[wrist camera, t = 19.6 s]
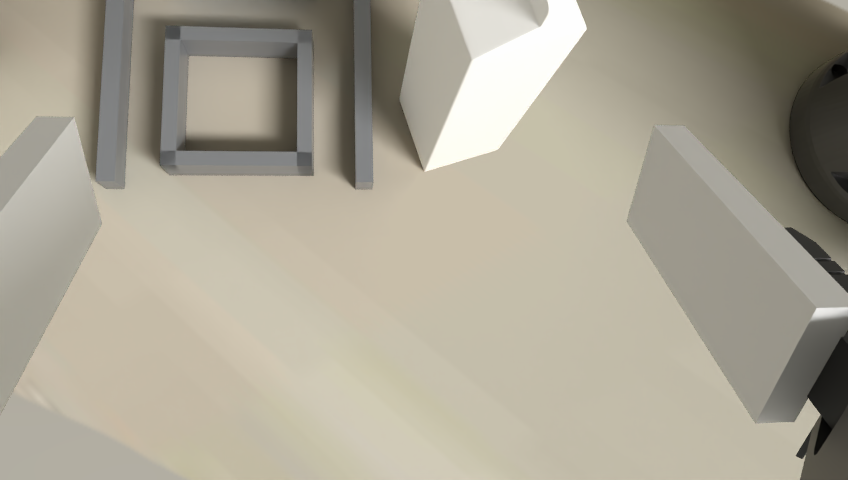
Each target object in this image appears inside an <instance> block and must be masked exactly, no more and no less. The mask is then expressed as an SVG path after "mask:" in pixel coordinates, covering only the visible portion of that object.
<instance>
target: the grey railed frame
mask: <svg viewBox="0 0 848 480" xmlns="http://www.w3.org/2000/svg"><path fill="white" fill-rule="evenodd" d="M133 8H134V0H106V11H105V28H104V45H103V62H102V79H101V96H100V113H99V130H98V148H97V165H96V182H97V183H99V184H100V185H102V186H103V187H104V188H106V189H124V186H125V166H126V146H127V127H128V107H129V87H130V67H131V48H132V28H133ZM353 8H354V103H355V189H372V186H373V142H372V77H371V11H370V0H353ZM189 56H225V57H265V58H297V152H269V151H185V143H186V114H187V86H188V57H189ZM160 166H161V167H162V168H163V169H164V170H165V171H166V172H167V173H168V174H169V175H274V176H314V45H313V36H312V30H295V29H262V28H229V27H195V26H166V29H165V53H164V77H163V101H162V125H161V149H160Z"/></svg>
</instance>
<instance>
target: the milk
mask: <svg viewBox="0 0 848 480" xmlns="http://www.w3.org/2000/svg"><path fill="white" fill-rule="evenodd" d="M586 29H587V27H586V24H585V22H584V19H583V17H582V14H581V12H580V9H579V6H578V4H577V1H576V0H420V1H419V6H418V11H417V16H416V20H415V25H414V30H413V35H412V40H411V44H410V49H409V54H408V59H407V64H406V68H405V73H404V78H403V83H402V88H401V92H400V97H399V100H400V103H401V106H402V109H403V112H404V115H405V118H406V121H407V123H408V126H409V129H410V132H411V135H412V138H413V141H414V144H415V147H416V150H417V153H418V155H419V158H420V161H421V164H422V167H423V170H424V171H428V170H432V169H435V168H439V167H442V166H445V165H449V164H452V163H455V162H459V161H462V160H465V159H469V158H472V157H475V156H479V155H482V154H486V153H489V152H492V151H496V150H498V149H499V147H500V146H501V145H502V143H503V142H504V141H505V139H506V138H507V137H508V135H509V134H510V132H511V131H512V130H513V128H514V127H515V126H516V124H517V123H518V122H519V120H520V119H521V118H522V116H523V115H524V113H525V112H526V111H527V109H528V108H529V107H530V105H531V104H532V103H533V101H534V100H535V99H536V97H537V96H538V95H539V93H540V92H541V90H542V89H543V88H544V86H545V85H546V84H547V82H548V81H549V80H550V78H551V77H552V76H553V74H554V73H555V72H556V70H557V69H558V67H559V66H560V65H561V63H562V62H563V61H564V59H565V58H566V57H567V55H568V54H569V53H570V51H571V50H572V49H573V47H574V46H575V44H576V43H577V42H578V40H579V39H580V38H581V36H582V35H583V34H584V32H585V31H586Z"/></svg>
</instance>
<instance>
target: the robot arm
mask: <svg viewBox="0 0 848 480" xmlns="http://www.w3.org/2000/svg"><path fill="white" fill-rule="evenodd" d="M790 138H791V145H792V150H793V154H794V157H795V161H796V163H797V166H798V168H799V170H800V173H801V175H802V177H803V178H804V180H805V182H806V183H807V185H808V187H809V188H810V189H811V191H812V192H813V193H814V194H815V196H816V197H817V198H818V199H819V200H820V201H821V202H822V203H823V204H824V205H825V206H826V207H827V208H828V209H829V210H831V211H832V212H833V213H834V214H836V215H837V216H839V217H840V218H842V219H843V220H845V221H847V222H848V50H847V51H845V52H843V53H841V54H840V55H838V56H836V57H835V58H833V59H831V60H830V61H828V62H826V63H825V64H823V65H822V66H820V67H819V68H817V69H816V70H815V71H814V72H813V73H812V74H811V75H810V76H809V77H808V78H807V79H806V81H805V82H804V83H803V85H802V86H801V88H800V90H799V92H798V94H797V96H796V98H795V101H794V104H793V108H792V112H791V119H790ZM627 223H628V224H629V226H630V227H631V229H632V231H633V232H634V234H635V235H636V237H637V238H638V240H639V242H640V243H641V245H642V246H643V248H644V249H645V251H646V252H647V254H648V256H649V257H650V259H651V260H652V262H653V263H654V265H655V267H656V268H657V270H658V271H659V273H660V274H661V276H662V278H663V279H664V281H665V282H666V284H667V285H668V287H669V289H670V290H671V292H672V293H673V295H674V296H675V298H676V300H677V301H678V303H679V304H680V306H681V307H682V309H683V311H684V312H685V314H686V315H687V317H688V318H689V320H690V322H691V323H692V325H693V326H694V328H695V329H696V331H697V333H698V334H699V336H700V337H701V339H702V340H703V342H704V344H705V345H706V347H707V348H708V350H709V351H710V353H711V355H712V356H713V358H714V359H715V361H716V362H717V364H718V366H719V367H720V369H721V370H722V372H723V373H724V375H725V377H726V378H727V380H728V381H729V383H730V384H731V386H732V388H733V389H734V391H735V392H736V394H737V395H738V397H739V399H740V400H741V402H742V403H743V405H744V406H745V408H746V410H747V411H748V413H749V414H750V416H751V417H752V419H753V421H754V422H755V423H776V422H795V420H796V418H797V416H798V415H799V413H800V411H801V410H802V408H803V406H804V404H805V403H806V401H807V399H808V398H809V400H810V401H811V402H812V404H813V405H814V406H815V408H816V409H817V410H818V412H819V413H820V414H821V415H820V417H819V419H818V420H817V422H816V423H815V425H814V427H813V428H812V430H811V432H810V433H809V435H808V437H807V438H806V440H805V441H804V443H803V445H802V446H801V448H800V450H799V451H798V453H797V455H796V456H797V457H799V458H801V459H803V457H804V456H805V455H806V457H805V461H804V466H803V470H802V474H801V478H800V480H848V275H845V274H844V272H845V271H844V270H843V269H842V268H841V267H840V266H839V265H838V264H837V263H836V262H835V261H831V257H830V256H829V255H828V254H827V253H826V252H825V251H824V250H823V249H822V248H821V247H820V246H819V245H818V244H817V243H816V242H814V241H813V240H811V239H809V238H808V237H806V236H804V235H803V234H801V233H799V232H798V231H796V230H794V229H793V228H784V227H783V226H782V225H781V224H780V223H779V222H778V221H777V220H776V219H775V218H774V217H773V216H772V215H771V214H770V213H769V212H768V211H767V210H766V209H765V208H764V207H763V206H762V205H761V204H760V203H759V202H758V201H757V200H756V198H755V197H754V196H753V195H752V194H751V193H750V192H749V191H748V190H747V189H746V188H745V187H744V186H743V185H742V184H741V183H740V182H739V181H738V180H737V179H736V178H735V177H734V176H733V175H732V174H731V173H730V172H729V171H728V170H727V169H726V168H725V167H724V166H723V165H722V164H721V163H720V162H719V161H718V159H717V158H716V157H715V156H714V155H713V154H712V153H711V152H710V151H709V150H708V149H707V148H706V147H705V146H704V145H703V144H702V143H701V142H700V141H699V140H698V139H697V138H696V137H695V136H694V135H693V134H692V133H691V132H690V131H689V130H688V129H687V128H686V127H685V126H684V125H654V127H653V131H652V134H651V138H650V141H649V145H648V148H647V152H646V155H645V159H644V162H643V166H642V169H641V173H640V176H639V180H638V183H637V187H636V190H635V194H634V197H633V201H632V204H631V208H630V211H629V215H628V218H627ZM101 225H102V221H101V217H100V213H99V210H98V206H97V202H96V198H95V194H94V190H93V187H92V183H91V179H90V175H89V171H88V167H87V164H86V160H85V156H84V152H83V148H82V144H81V141H80V137H79V133H78V129H77V125H76V121H75V118H74V117H39V116H37V117H36V118H35V119H34V120H33V121H32V122H31V123H30V124H29V126H28V127H27V128H26V129H25V130H24V131H23V132H22V133H21V135H20V136H19V137H18V138H17V139H16V140H15V141H14V142H13V144H12V145H11V146H10V147H9V148H8V149H7V150H6V151H5V153H4V154H3V155H2V156H1V157H0V415H1V413H2V411H3V409H4V407H5V405H6V403H7V401H8V400H9V398H10V396H11V394H12V392H13V390H14V388H15V387H16V385H17V383H18V381H19V379H20V377H21V375H22V373H23V372H24V370H25V368H26V366H27V364H28V362H29V360H30V358H31V356H32V355H33V353H34V351H35V349H36V347H37V345H38V343H39V341H40V340H41V338H42V336H43V334H44V332H45V330H46V328H47V326H48V324H49V323H50V321H51V319H52V317H53V315H54V313H55V311H56V309H57V308H58V306H59V304H60V302H61V300H62V298H63V296H64V294H65V292H66V291H67V289H68V287H69V285H70V283H71V281H72V279H73V277H74V276H75V274H76V272H77V270H78V268H79V266H80V264H81V262H82V260H83V259H84V257H85V255H86V253H87V251H88V249H89V247H90V245H91V244H92V242H93V240H94V238H95V236H96V234H97V232H98V230H99V229H100V227H101Z"/></svg>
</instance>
